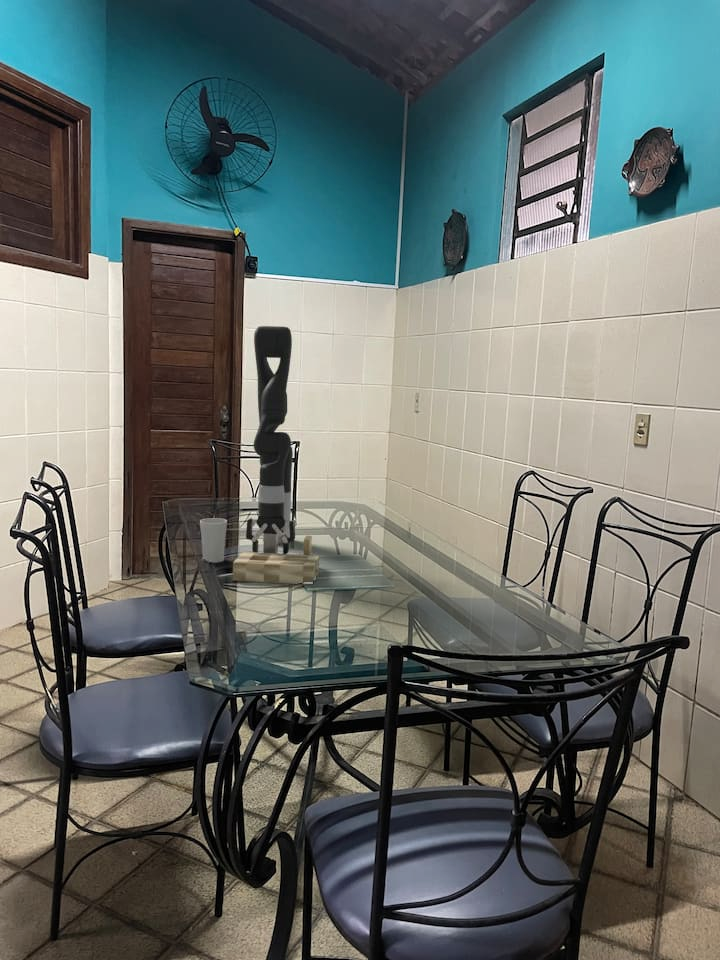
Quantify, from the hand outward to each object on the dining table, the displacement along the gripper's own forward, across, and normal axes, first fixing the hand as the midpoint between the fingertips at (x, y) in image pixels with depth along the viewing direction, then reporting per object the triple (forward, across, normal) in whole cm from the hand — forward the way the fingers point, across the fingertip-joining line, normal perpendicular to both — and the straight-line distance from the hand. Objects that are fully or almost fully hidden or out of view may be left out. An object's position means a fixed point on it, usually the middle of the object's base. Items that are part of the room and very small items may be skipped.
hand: (270, 554), depth 204 cm
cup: (+4, +18, -3) cm, 19 cm away
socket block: (+3, -4, +11) cm, 12 cm away
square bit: (+3, 0, 0) cm, 3 cm away
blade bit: (+3, -11, 0) cm, 12 cm away
